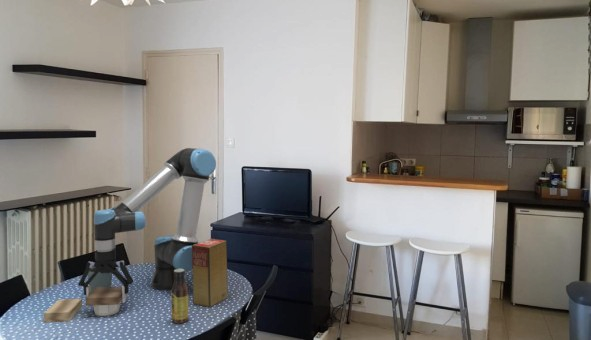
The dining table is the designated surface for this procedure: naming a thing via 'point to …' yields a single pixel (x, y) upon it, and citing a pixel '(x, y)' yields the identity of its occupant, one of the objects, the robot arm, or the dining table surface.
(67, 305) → the light wooden block
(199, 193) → the robot arm
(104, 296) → the cover board
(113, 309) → the bowl
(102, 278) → the grey-green cup
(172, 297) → the sauce bottle
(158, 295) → the dining table surface
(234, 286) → the dining table surface
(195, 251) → the food packaging
